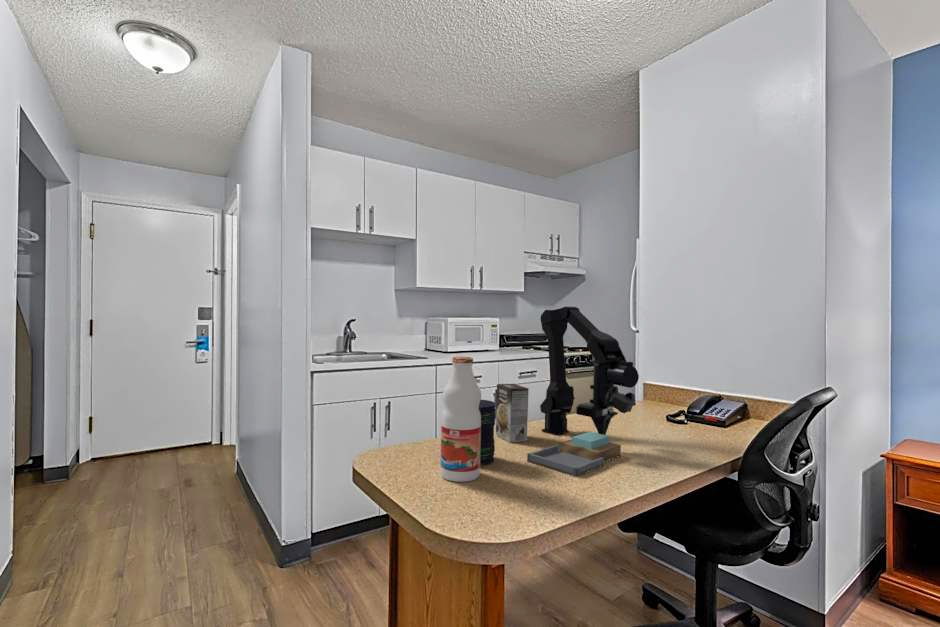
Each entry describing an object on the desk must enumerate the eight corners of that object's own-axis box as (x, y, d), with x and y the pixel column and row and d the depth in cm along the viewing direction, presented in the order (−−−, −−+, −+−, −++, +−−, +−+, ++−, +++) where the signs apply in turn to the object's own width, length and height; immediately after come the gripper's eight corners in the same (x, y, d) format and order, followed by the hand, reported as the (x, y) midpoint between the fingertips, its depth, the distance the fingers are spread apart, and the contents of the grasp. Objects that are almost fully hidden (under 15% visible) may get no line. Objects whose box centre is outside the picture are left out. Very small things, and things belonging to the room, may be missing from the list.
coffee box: (494, 435, 151) (495, 383, 151) (512, 433, 154) (513, 382, 154) (509, 443, 143) (510, 388, 143) (527, 441, 146) (529, 387, 145)
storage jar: (491, 467, 121) (492, 408, 121) (452, 464, 123) (454, 405, 123) (497, 455, 131) (498, 400, 130) (461, 452, 133) (462, 398, 132)
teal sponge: (571, 444, 132) (572, 437, 132) (590, 438, 139) (590, 431, 139) (591, 449, 128) (591, 441, 128) (608, 443, 134) (609, 436, 134)
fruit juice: (486, 472, 117) (488, 357, 117) (470, 485, 108) (472, 360, 108) (451, 466, 121) (453, 354, 121) (433, 478, 112) (435, 358, 112)
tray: (527, 461, 126) (527, 453, 126) (555, 452, 135) (556, 444, 135) (576, 476, 116) (576, 468, 116) (603, 465, 124) (604, 458, 124)
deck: (560, 453, 134) (560, 442, 134) (582, 446, 142) (583, 435, 141) (598, 464, 125) (599, 452, 125) (620, 455, 133) (620, 445, 133)
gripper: (612, 389, 125) (611, 449, 125) (646, 382, 138) (644, 437, 138) (575, 383, 133) (574, 440, 133) (610, 377, 146) (609, 429, 146)
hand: (602, 437), depth 137 cm, fingers closed
